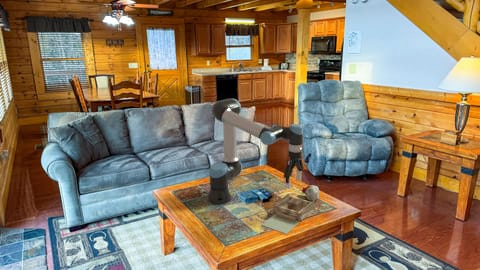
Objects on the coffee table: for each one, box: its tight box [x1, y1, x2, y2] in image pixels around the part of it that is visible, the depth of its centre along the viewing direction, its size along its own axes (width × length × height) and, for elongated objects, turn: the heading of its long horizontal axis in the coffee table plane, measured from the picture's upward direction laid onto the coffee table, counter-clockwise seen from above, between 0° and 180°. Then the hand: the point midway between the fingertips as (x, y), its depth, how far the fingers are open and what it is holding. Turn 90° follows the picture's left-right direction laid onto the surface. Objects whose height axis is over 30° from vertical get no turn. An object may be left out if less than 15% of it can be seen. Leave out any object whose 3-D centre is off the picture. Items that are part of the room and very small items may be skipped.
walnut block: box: [288, 198, 302, 212], centre depth 194 cm, size 6×6×6 cm
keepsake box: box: [273, 193, 316, 223], centre depth 195 cm, size 18×17×6 cm
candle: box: [301, 184, 320, 202], centre depth 213 cm, size 9×11×15 cm
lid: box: [260, 212, 301, 235], centre depth 182 cm, size 16×16×3 cm
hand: (293, 184), depth 195 cm, fingers open, 13 cm apart
